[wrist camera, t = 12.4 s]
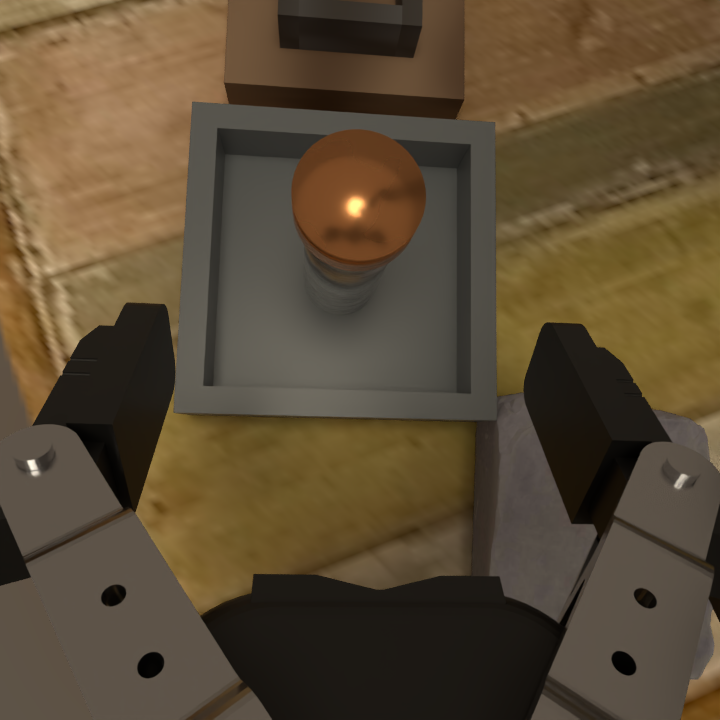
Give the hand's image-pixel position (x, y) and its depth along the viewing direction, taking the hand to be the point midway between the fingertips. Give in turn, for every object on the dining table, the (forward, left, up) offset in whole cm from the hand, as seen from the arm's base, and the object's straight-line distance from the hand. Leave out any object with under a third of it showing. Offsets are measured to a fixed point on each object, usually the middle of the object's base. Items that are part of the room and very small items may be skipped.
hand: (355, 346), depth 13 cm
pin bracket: (0, -17, -12) cm, 21 cm away
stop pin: (0, -5, -12) cm, 12 cm away
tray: (0, -5, -12) cm, 13 cm away
